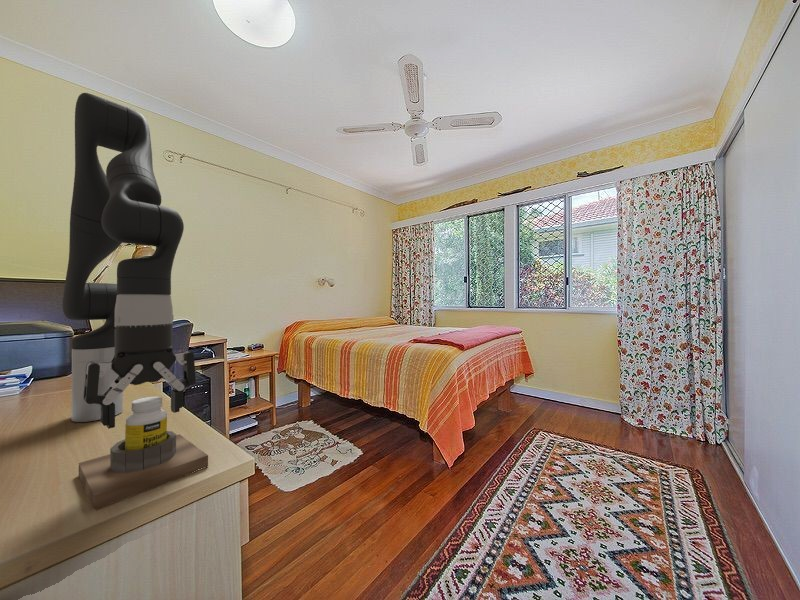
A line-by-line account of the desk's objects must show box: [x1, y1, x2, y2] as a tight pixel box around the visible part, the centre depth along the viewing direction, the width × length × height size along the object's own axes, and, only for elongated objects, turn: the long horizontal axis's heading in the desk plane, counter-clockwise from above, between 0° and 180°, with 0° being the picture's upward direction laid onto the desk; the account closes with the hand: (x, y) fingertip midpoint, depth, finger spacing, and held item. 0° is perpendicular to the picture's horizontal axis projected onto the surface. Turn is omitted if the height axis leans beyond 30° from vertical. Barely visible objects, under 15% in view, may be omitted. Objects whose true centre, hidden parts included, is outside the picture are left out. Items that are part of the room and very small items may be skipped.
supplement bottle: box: [124, 396, 168, 451], centre depth 52 cm, size 5×5×10 cm
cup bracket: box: [78, 430, 209, 511], centre depth 52 cm, size 14×14×5 cm
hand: (144, 418), depth 52 cm, fingers open, 8 cm apart
